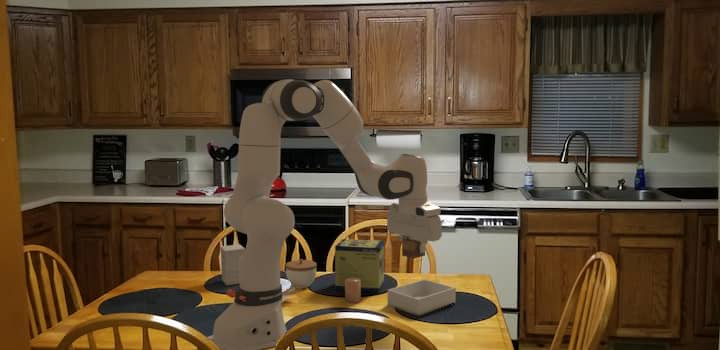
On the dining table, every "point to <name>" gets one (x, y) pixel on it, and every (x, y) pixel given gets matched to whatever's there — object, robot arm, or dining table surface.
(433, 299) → the tote
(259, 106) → the robot arm
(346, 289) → the terracotta cylinder
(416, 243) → the walnut cube
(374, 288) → the protein box
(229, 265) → the supplement box
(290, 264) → the lidded jar
